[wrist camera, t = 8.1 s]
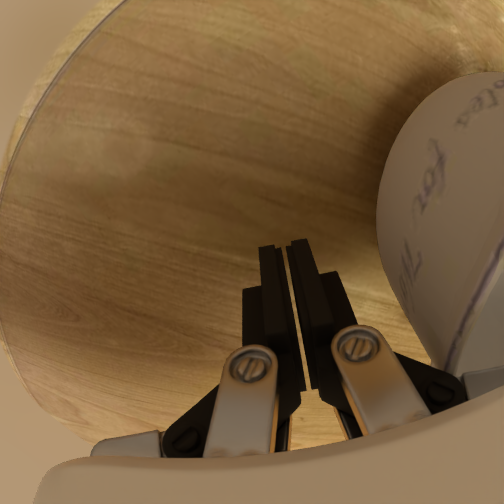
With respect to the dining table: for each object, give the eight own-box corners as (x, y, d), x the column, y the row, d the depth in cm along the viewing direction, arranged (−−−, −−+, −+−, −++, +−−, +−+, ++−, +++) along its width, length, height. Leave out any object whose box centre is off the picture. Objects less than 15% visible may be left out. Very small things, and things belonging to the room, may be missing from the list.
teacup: (394, 15, 8) (569, -8, 1) (549, 127, 9) (658, 192, 3) (293, 313, 15) (317, 471, 8) (450, 329, 17) (501, 432, 10)
